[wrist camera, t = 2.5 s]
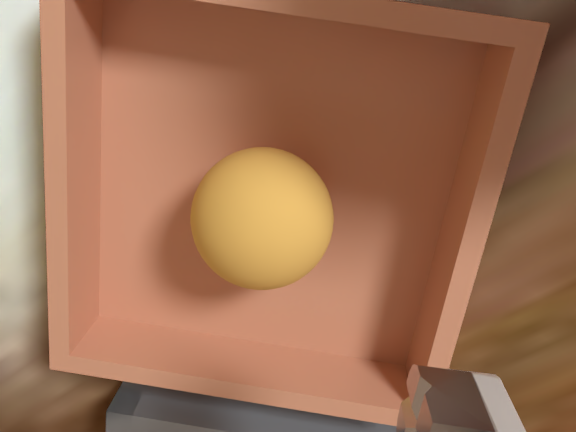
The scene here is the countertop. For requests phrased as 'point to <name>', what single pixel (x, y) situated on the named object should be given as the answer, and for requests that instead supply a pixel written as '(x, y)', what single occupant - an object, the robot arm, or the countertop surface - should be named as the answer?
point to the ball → (262, 218)
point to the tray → (215, 414)
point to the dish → (292, 138)
